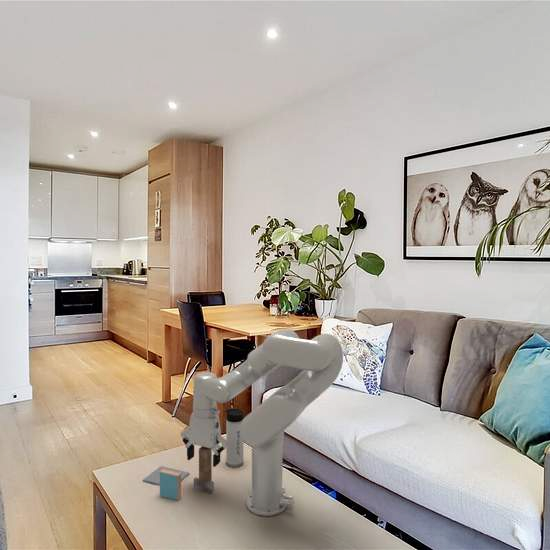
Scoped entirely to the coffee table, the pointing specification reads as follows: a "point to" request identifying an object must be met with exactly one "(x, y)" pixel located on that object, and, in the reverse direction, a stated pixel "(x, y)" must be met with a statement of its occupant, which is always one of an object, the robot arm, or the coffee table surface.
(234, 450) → the travel mug
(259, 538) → the coffee table surface
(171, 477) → the tile
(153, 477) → the mat
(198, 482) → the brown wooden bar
